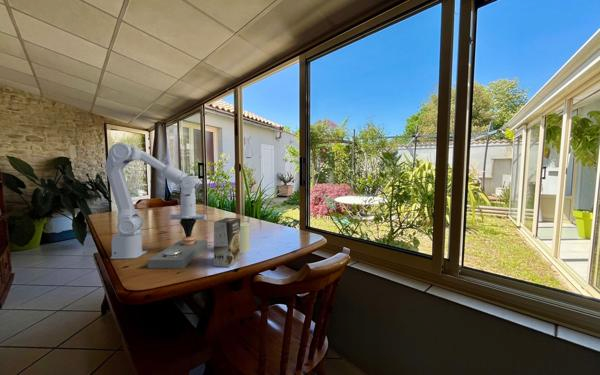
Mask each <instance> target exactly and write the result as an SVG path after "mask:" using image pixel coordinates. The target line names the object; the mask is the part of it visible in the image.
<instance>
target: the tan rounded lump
mask: <svg viewBox="0 0 600 375" xmlns="http://www.w3.org/2000/svg"><path fill="white" fill-rule="evenodd" d="M181 240H182V241H183V246H193V245H194V240H196V236H194V235H193V236H192V235H191V236H190V237H186V236H183V237H182V238H181Z"/></svg>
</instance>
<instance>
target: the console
mask: <svg viewBox="0 0 600 375" xmlns="http://www.w3.org/2000/svg"><path fill="white" fill-rule="evenodd" d="M207 248H208V239H206V240H203V239H202V240H199V239H198V240H196V239H195V240H194V245H193V246H183V241H182V239H181V240H179V241H177V242H175V243H174V244H171V245H170V246H168V247H166V248H165V249H164V250H161V251H160V252H159V253H156V254H155V255H154V256H152V257H149V258H148V259H147V269H184V268H185V267H186V266H188V264H190V263H191V262H192V261H193V260H194V259H195V258H197V257H198V256H199V255H200V254H201V253H202V252H203V251H205V250H206V249H207ZM173 249H179V250H181V253H180V255H179V256H178V257H166V255H165V252H166V251H168V250H173Z"/></svg>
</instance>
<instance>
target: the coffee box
mask: <svg viewBox="0 0 600 375" xmlns="http://www.w3.org/2000/svg"><path fill="white" fill-rule="evenodd" d="M240 222H241V218H240V217H239V218H238V217H225V218H221V219H218V220H215V221H213V266H214V267H221V268H222V267H223V268H230V267H232V266H233V265H234V264H236V263H237V262H238V261H240V260H241V253H240Z"/></svg>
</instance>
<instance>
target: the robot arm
mask: <svg viewBox="0 0 600 375" xmlns="http://www.w3.org/2000/svg"><path fill="white" fill-rule="evenodd" d="M133 161H139V162H143V163H145V164H147V165H148V166H150V167H153V168H154V169H156V170H158V171H159V172H161V175H162V177H163V178H165V179H167V180H168V181H170V182H171V183H173V184H175V185H179V187H180V214H178V213H177V214H176V213H175V214H170V215H169V220H170V221H172V220H175V221H176V220H180V221H179V224H180V226H181V227H182V229H183V231H184V234H185V237H190V236H192V233H193V229H194V226H195V224H196V222H197V220H198V221H199V220H201V221H205V220H207V214H197V211H196V210H197V208H196V205H197V204H196V201H197V198H196V195H197V194H196V188H195V186H196V185H197V181H196V179H195V178H194V177H193V176H191V175H189V173H187V172H184V171H182V170H180V169H178V168H179V167H178V166H176V165H173V164H168V165H167V164H165V163H163V162H162V161H160V160H158V159H157V158H156V157H155V156H152V155H151V154H150V153H148V152H146V151H145V150H142V149H140V148H136V147H135V146H133V145H130V144H127V143H126V142H117V143H115V144H113V145H112V146H111V147H110V148H109V149H108V156H107V158H106V162H105V164H104V168H105V173H106V175H107V178H108V183H109V185H110V187H111V192H112V196H113V198H114V201H115V204H116V208H117V211H118V213H117V216H116V217H117V226H116V227H117V231H118V233H116V234H114V236H112V239H111V256H110V259H113V260H114V259H115V260H116V259H120V260H121V259H137V258H139V257H141V256H143V255H145V254H147V253H148V251H147V250H143V235H142V234H143V231H142V230H141V228H142V227H143V224H144V221H143V218H142V217H141V216H140V214H139V213H138V210H136V208H135V207H134V204H133V199H132V196H131V192H130V190H129V185H128V182H127V180H126V176H125V172H124V169H125V168H126V166H127V165H128V164H130V163H131V162H133Z"/></svg>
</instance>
